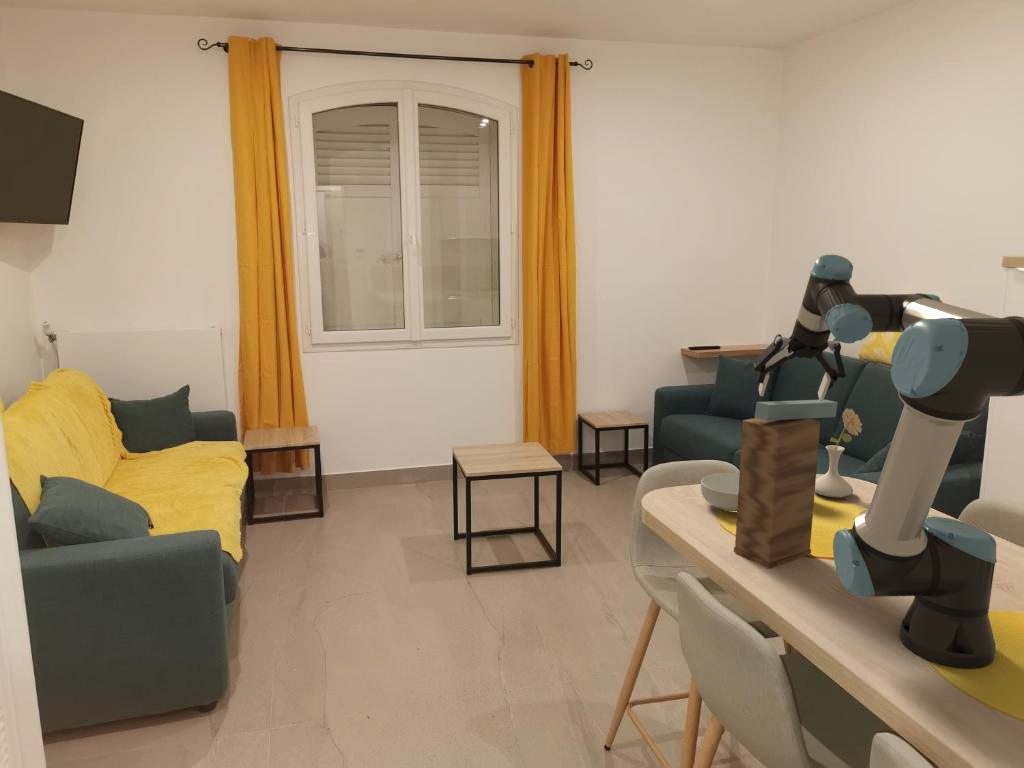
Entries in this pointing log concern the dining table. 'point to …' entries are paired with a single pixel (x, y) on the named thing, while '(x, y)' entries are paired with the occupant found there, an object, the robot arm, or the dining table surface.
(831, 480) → the flower in vase
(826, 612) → the dining table surface
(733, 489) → the cereal bowl
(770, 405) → the bar
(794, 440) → the pedestal
